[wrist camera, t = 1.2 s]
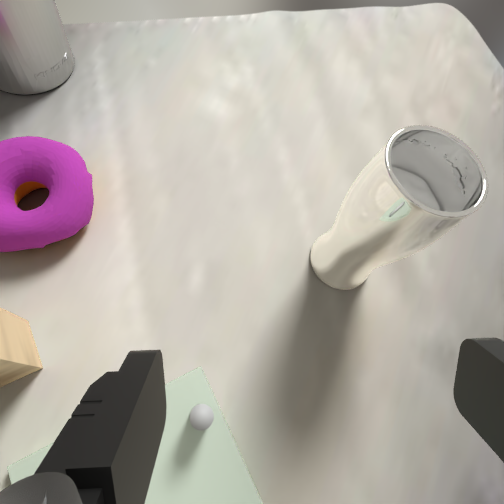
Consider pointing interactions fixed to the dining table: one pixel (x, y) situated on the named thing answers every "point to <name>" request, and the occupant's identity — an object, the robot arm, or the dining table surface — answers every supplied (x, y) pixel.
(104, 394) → the robot arm
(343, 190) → the dining table surface
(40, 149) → the donut
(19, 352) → the oak block
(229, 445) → the peg stand
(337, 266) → the shiny metal tumbler
